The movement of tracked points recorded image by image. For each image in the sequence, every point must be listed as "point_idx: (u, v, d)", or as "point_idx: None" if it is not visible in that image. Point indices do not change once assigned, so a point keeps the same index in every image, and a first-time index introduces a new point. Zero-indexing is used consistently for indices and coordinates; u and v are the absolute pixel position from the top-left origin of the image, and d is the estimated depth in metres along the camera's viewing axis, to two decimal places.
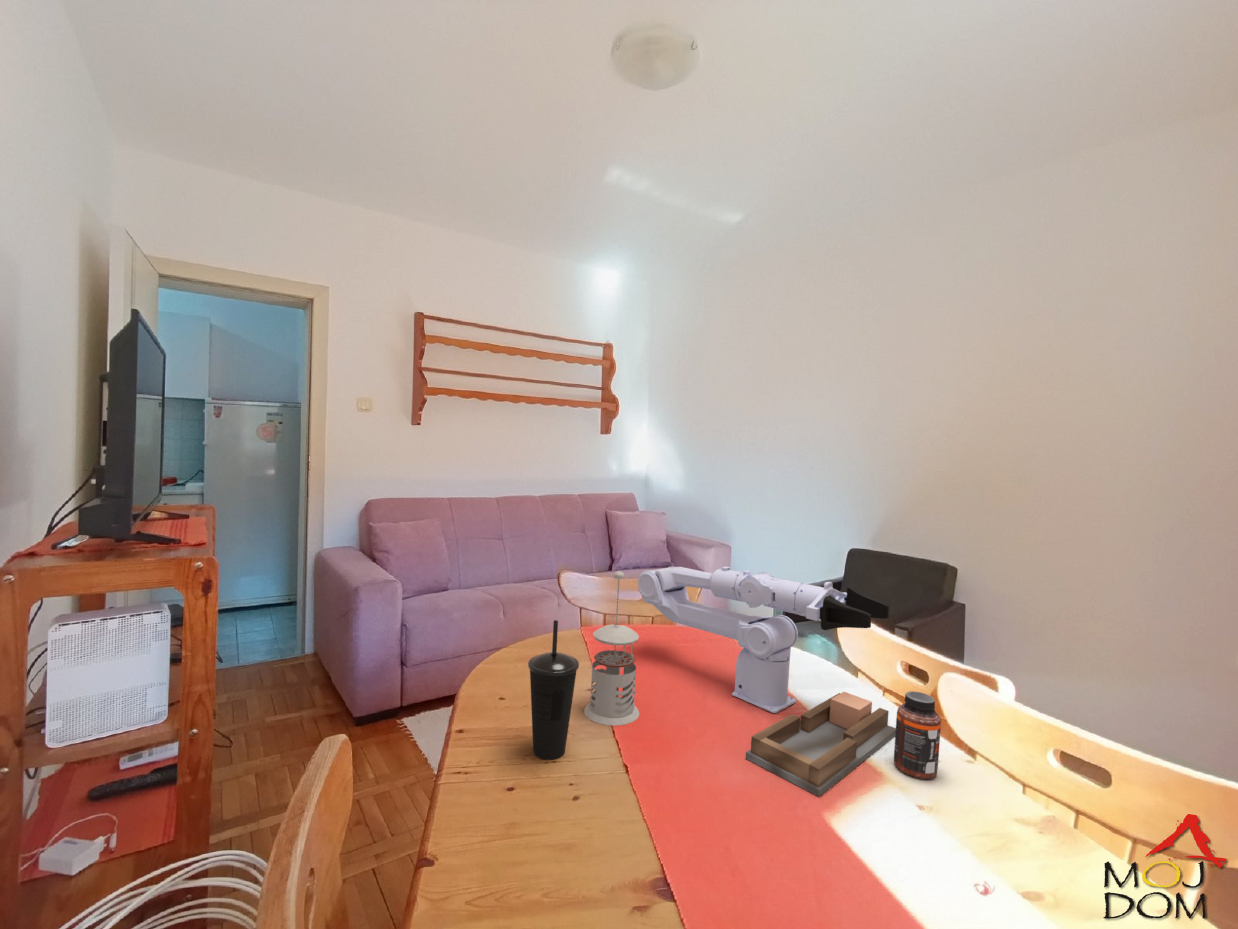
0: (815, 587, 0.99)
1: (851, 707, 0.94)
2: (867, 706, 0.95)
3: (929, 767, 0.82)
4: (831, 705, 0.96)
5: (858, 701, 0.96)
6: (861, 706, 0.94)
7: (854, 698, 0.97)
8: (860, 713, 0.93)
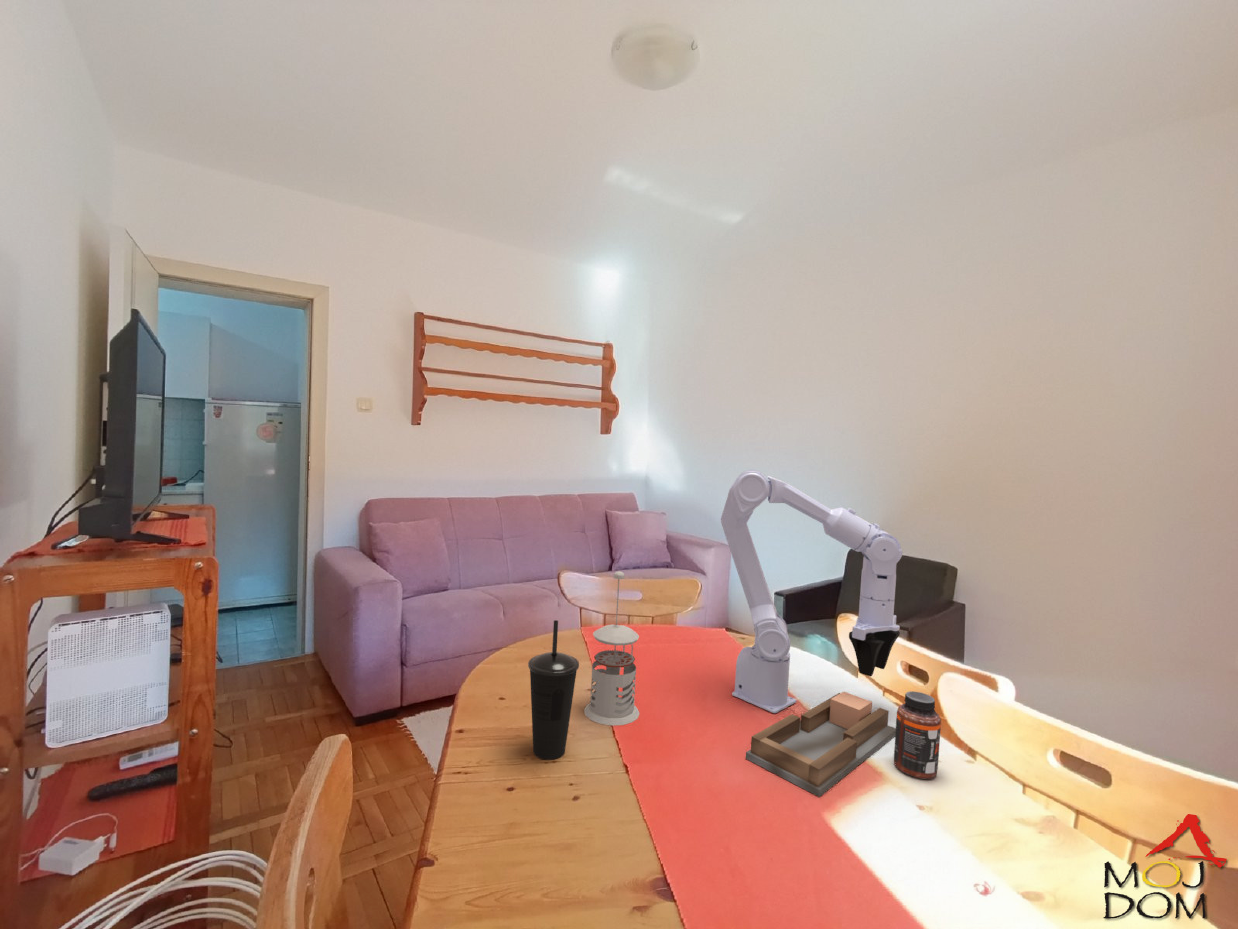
0: (890, 615, 0.99)
1: (851, 707, 0.94)
2: (867, 706, 0.95)
3: (929, 767, 0.82)
4: (831, 705, 0.96)
5: (858, 701, 0.96)
6: (861, 706, 0.94)
7: (854, 698, 0.97)
8: (860, 713, 0.93)
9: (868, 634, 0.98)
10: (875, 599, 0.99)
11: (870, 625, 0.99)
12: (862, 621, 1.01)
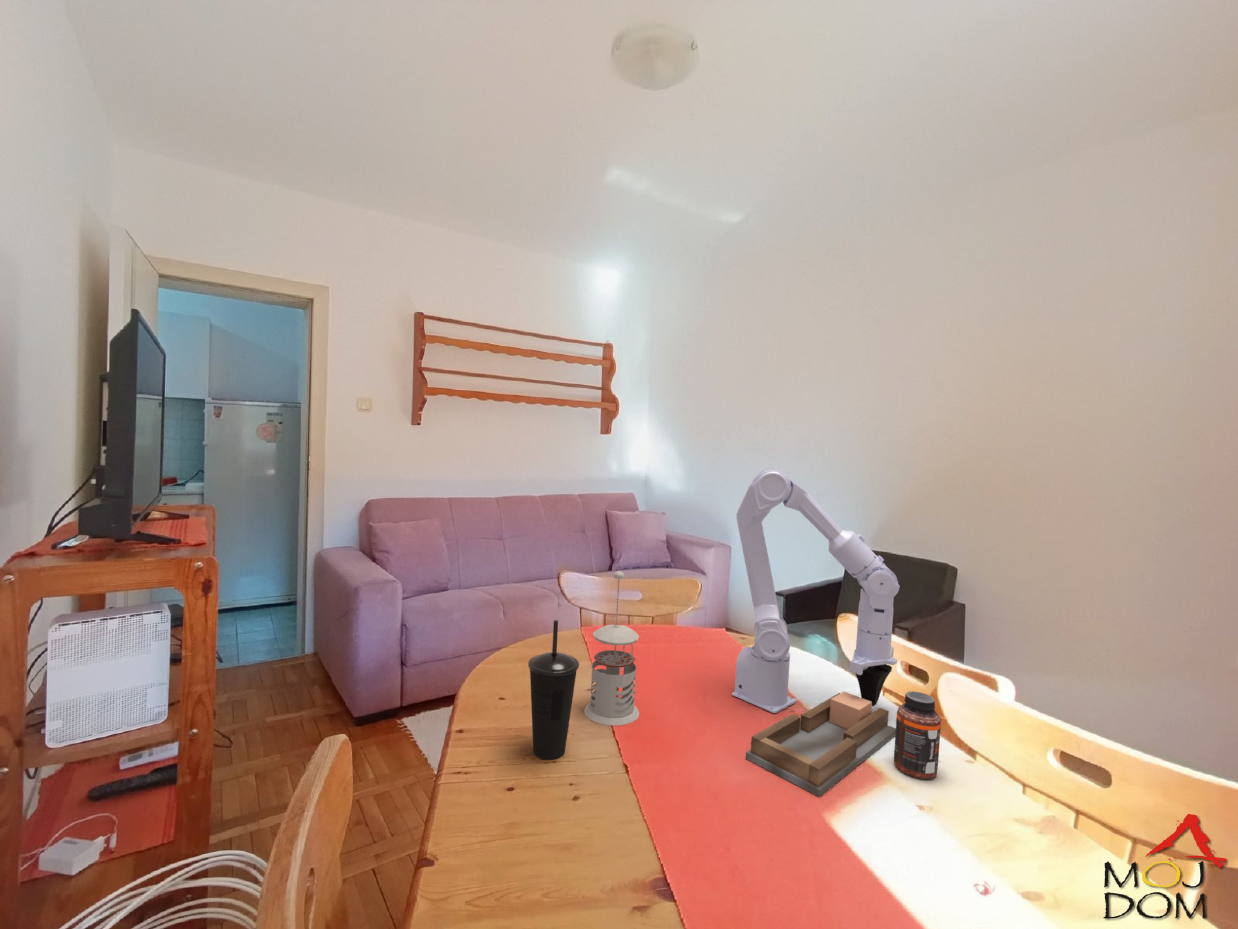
0: (888, 649, 0.99)
1: (851, 707, 0.94)
2: (867, 706, 0.95)
3: (929, 767, 0.82)
4: (831, 705, 0.96)
5: (858, 701, 0.96)
6: (861, 706, 0.94)
7: (854, 698, 0.97)
8: (860, 713, 0.93)
9: None
10: (872, 633, 0.99)
11: (867, 659, 0.99)
12: (859, 654, 1.01)
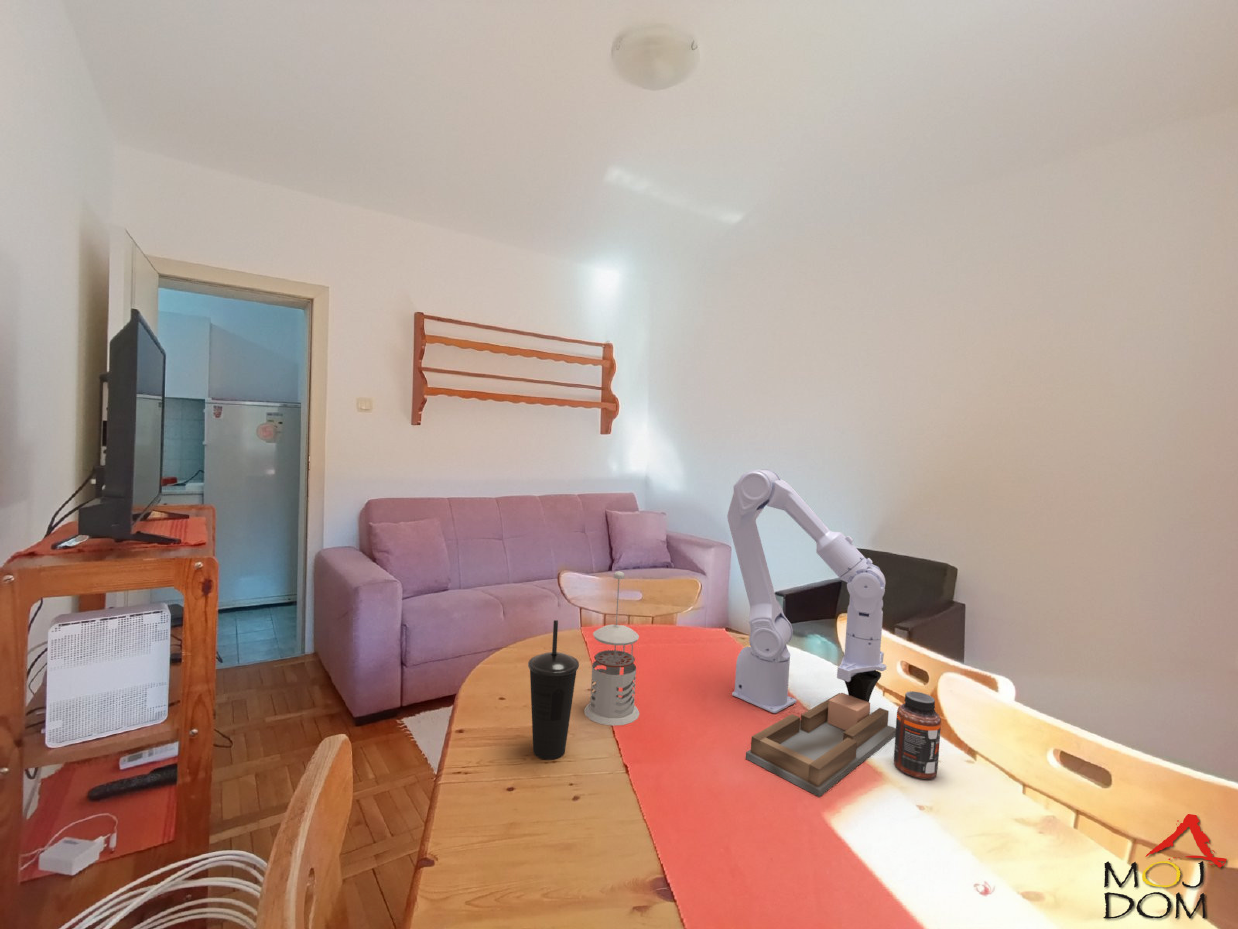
0: (877, 655, 0.96)
1: (849, 708, 0.94)
2: (865, 708, 0.95)
3: (929, 767, 0.82)
4: (829, 706, 0.96)
5: (857, 703, 0.96)
6: (859, 707, 0.94)
7: (852, 699, 0.97)
8: (859, 715, 0.93)
9: None
10: (861, 638, 0.96)
11: (856, 665, 0.96)
12: (848, 660, 0.98)
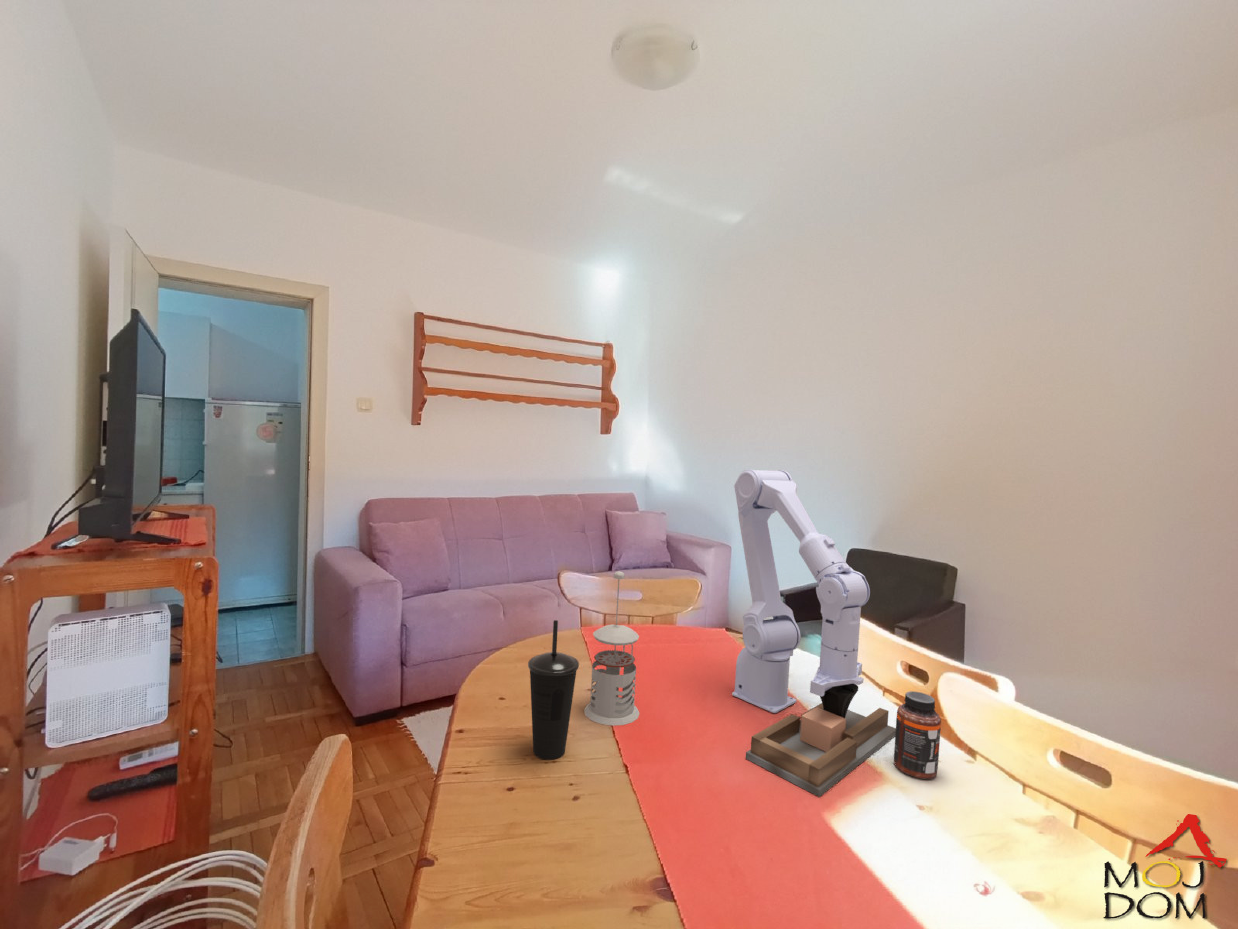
0: (853, 667, 0.90)
1: (823, 725, 0.87)
2: (840, 724, 0.88)
3: (929, 767, 0.82)
4: (802, 722, 0.90)
5: (831, 718, 0.89)
6: (833, 724, 0.88)
7: (827, 714, 0.91)
8: (833, 732, 0.87)
9: None
10: (836, 649, 0.90)
11: (831, 678, 0.90)
12: (823, 672, 0.91)
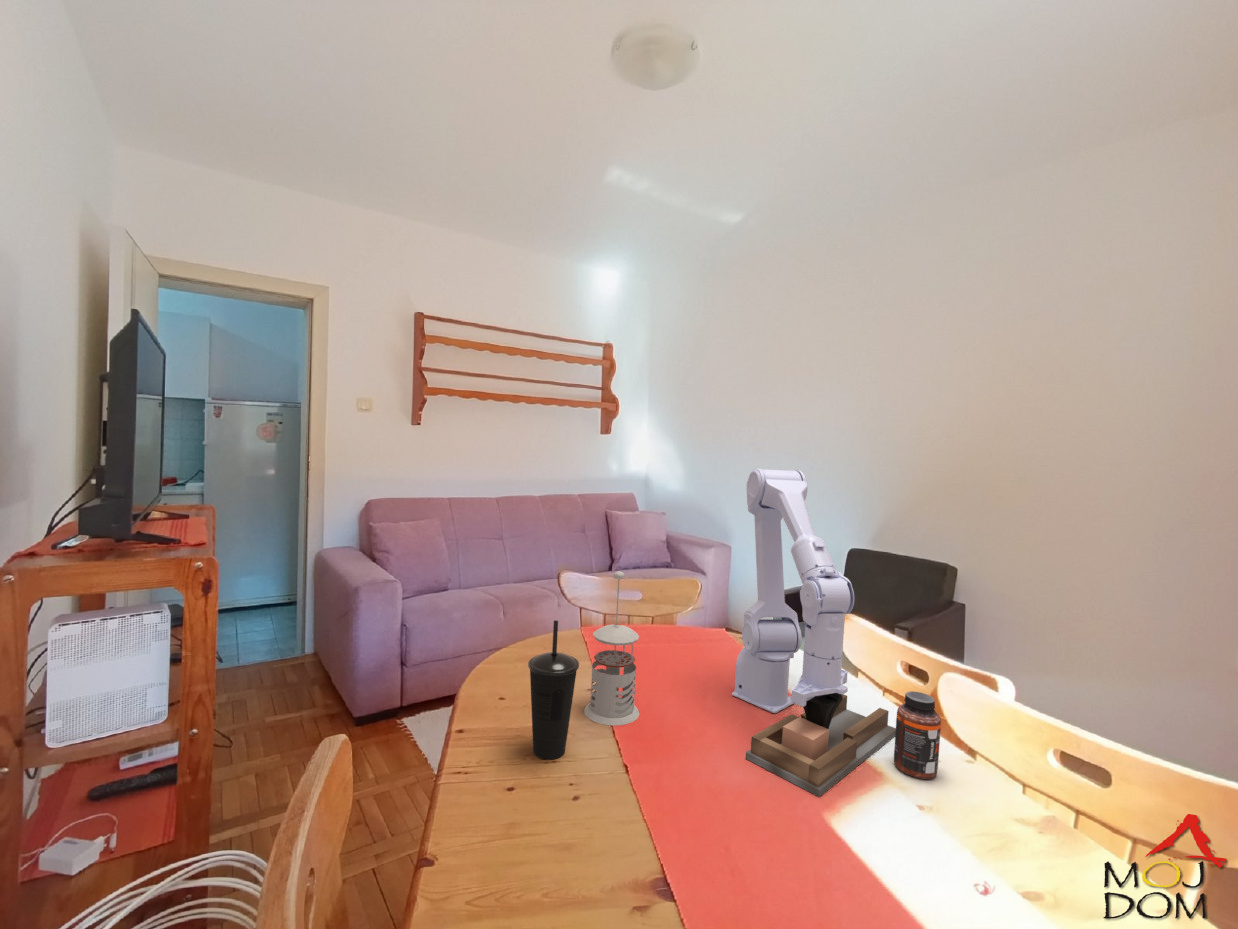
0: (837, 676, 0.86)
1: (804, 736, 0.83)
2: (823, 735, 0.84)
3: (929, 767, 0.82)
4: (783, 733, 0.86)
5: (814, 729, 0.85)
6: (815, 735, 0.84)
7: (809, 725, 0.87)
8: (815, 744, 0.83)
9: None
10: (819, 657, 0.86)
11: (813, 687, 0.86)
12: (805, 681, 0.87)
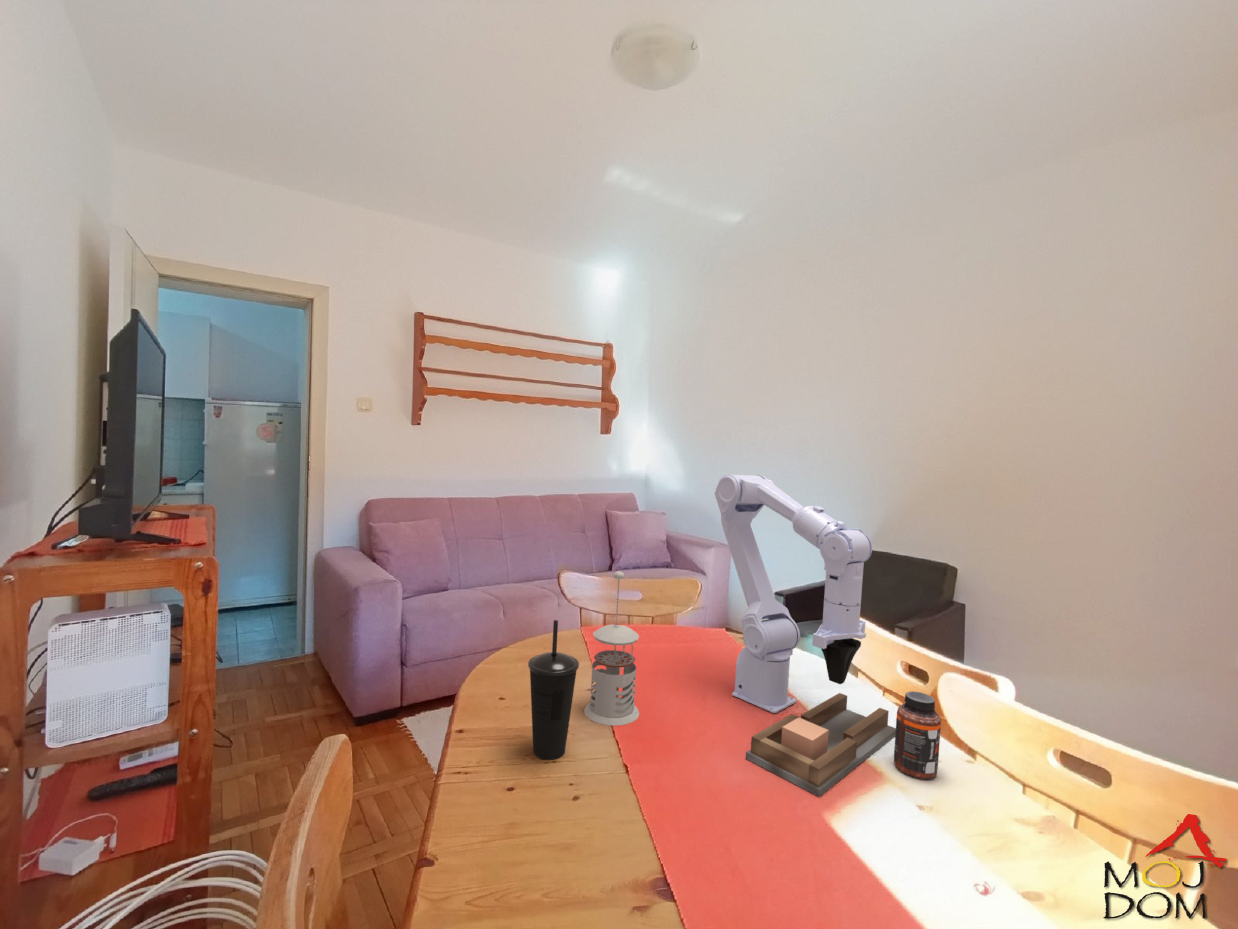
0: (856, 622, 0.91)
1: (804, 737, 0.83)
2: (822, 736, 0.84)
3: (929, 767, 0.82)
4: (782, 734, 0.86)
5: (813, 730, 0.85)
6: (815, 735, 0.84)
7: (809, 725, 0.87)
8: (814, 744, 0.83)
9: None
10: (839, 604, 0.91)
11: (833, 632, 0.91)
12: (825, 627, 0.93)
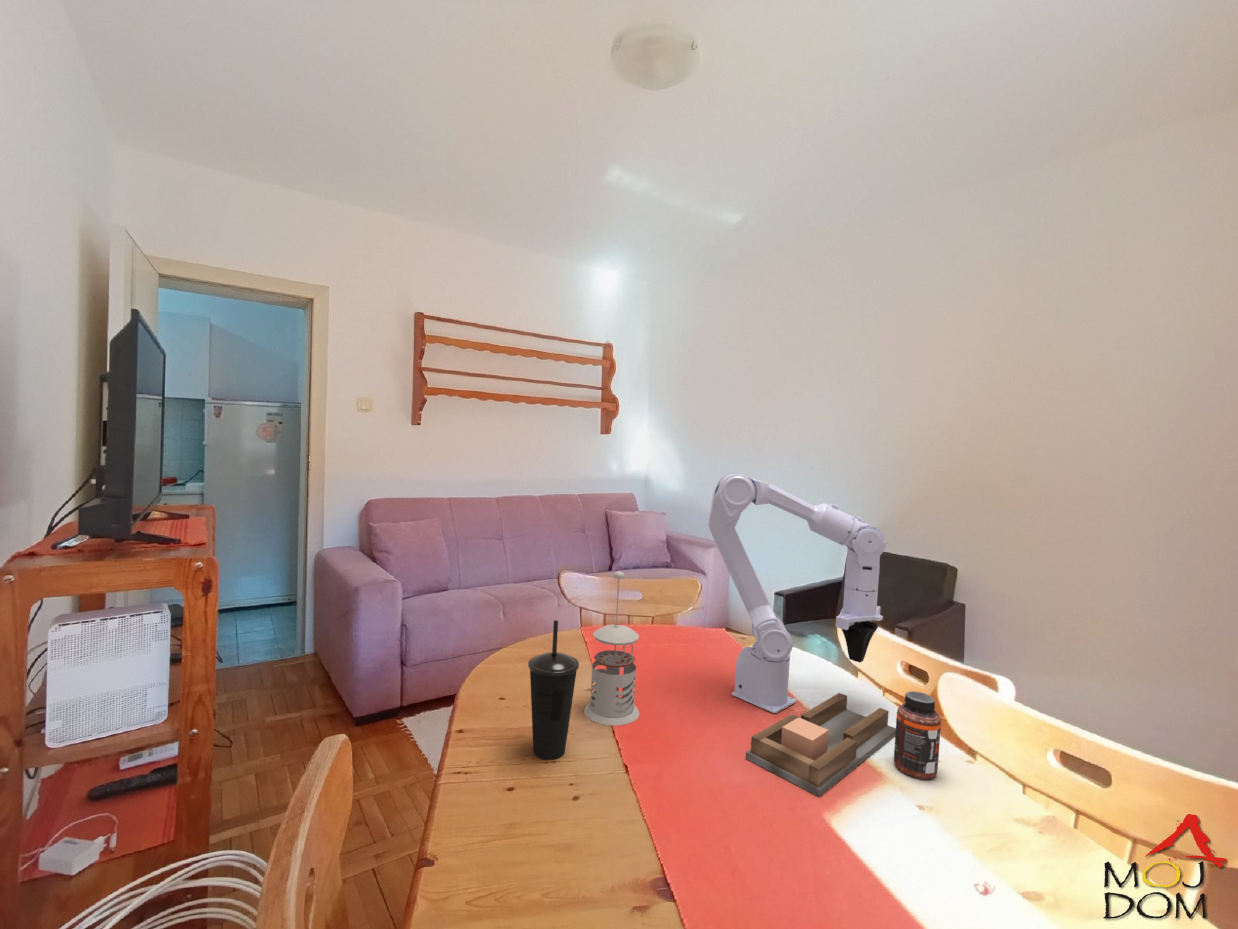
0: (874, 606, 1.01)
1: (804, 737, 0.83)
2: (822, 736, 0.84)
3: (929, 767, 0.82)
4: (782, 734, 0.86)
5: (813, 730, 0.85)
6: (815, 735, 0.84)
7: (809, 725, 0.87)
8: (814, 744, 0.83)
9: (857, 621, 1.02)
10: (859, 590, 1.01)
11: (854, 615, 1.01)
12: (846, 611, 1.03)
